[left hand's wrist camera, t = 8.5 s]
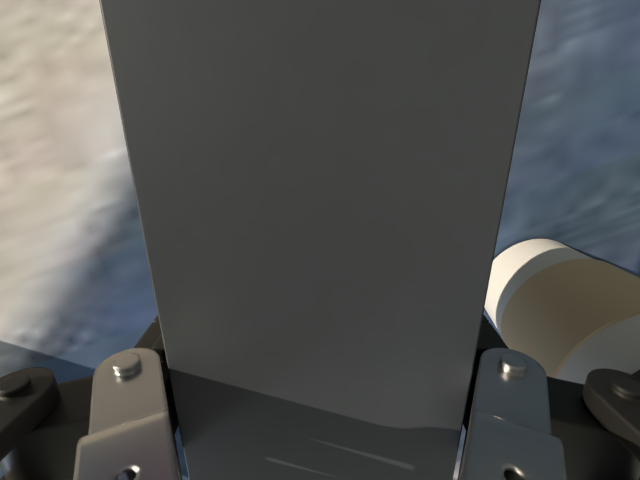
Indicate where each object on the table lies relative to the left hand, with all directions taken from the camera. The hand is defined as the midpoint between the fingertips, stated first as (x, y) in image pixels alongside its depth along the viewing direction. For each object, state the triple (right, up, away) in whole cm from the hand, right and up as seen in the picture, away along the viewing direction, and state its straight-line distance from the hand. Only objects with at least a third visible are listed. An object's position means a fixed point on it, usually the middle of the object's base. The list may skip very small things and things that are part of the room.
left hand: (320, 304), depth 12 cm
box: (0, +9, +3) cm, 9 cm away
